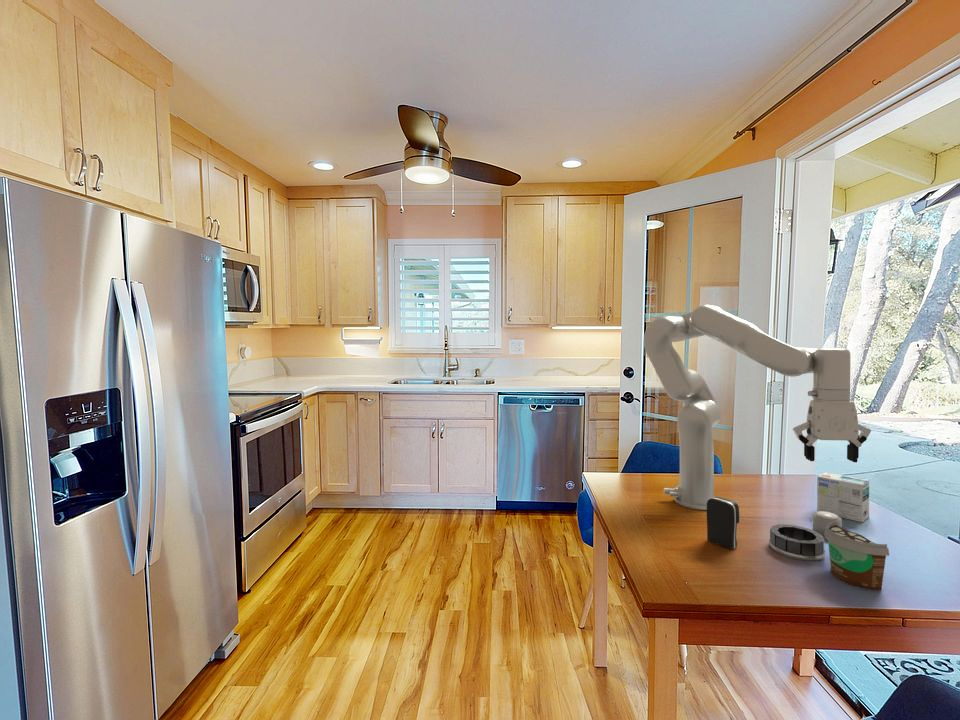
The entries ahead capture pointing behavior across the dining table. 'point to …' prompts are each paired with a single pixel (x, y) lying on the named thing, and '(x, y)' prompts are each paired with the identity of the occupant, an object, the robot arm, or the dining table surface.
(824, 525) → the cap
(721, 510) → the battery charger
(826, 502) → the light bulb box
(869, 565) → the food container
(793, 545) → the faceted grey bowl
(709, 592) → the dining table surface
